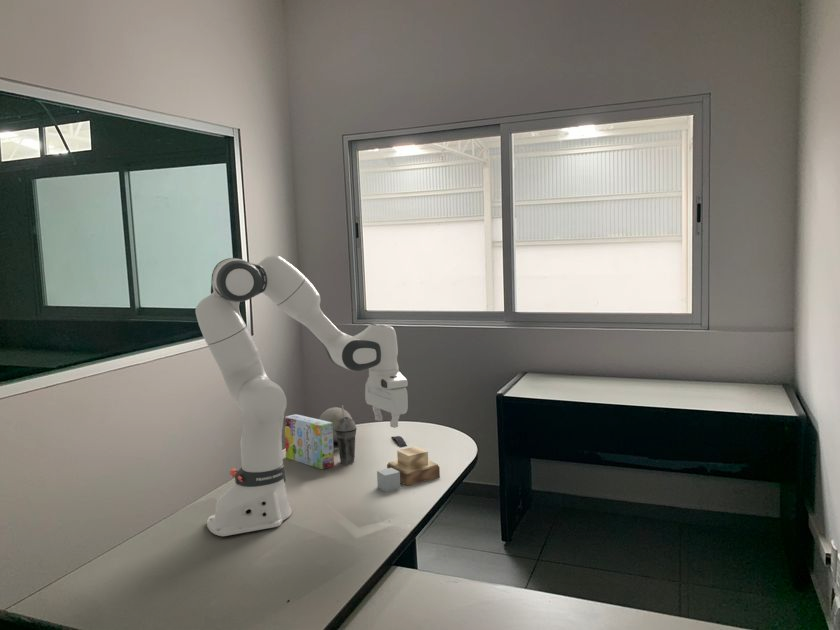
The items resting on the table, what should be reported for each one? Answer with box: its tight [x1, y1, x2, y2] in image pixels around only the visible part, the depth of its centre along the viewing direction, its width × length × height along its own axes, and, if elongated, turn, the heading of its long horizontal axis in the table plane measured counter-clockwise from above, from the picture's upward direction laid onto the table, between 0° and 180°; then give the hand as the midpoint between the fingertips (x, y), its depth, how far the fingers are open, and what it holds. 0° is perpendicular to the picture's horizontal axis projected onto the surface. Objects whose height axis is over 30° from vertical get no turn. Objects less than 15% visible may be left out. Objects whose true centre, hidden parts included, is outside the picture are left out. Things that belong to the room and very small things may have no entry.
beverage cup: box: [335, 404, 358, 466], centre depth 211 cm, size 7×7×20 cm
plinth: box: [386, 459, 441, 486], centre depth 196 cm, size 12×12×4 cm
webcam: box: [318, 406, 354, 453], centre depth 229 cm, size 13×13×15 cm
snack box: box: [283, 413, 335, 470], centre depth 214 cm, size 21×6×15 cm, turn 47°
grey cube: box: [376, 468, 401, 493], centre depth 187 cm, size 5×5×5 cm
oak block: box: [396, 446, 429, 469], centre depth 196 cm, size 7×7×4 cm
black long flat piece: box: [393, 435, 408, 448], centre depth 230 cm, size 9×25×3 cm, turn 17°
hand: (386, 423), depth 186 cm, fingers open, 8 cm apart
